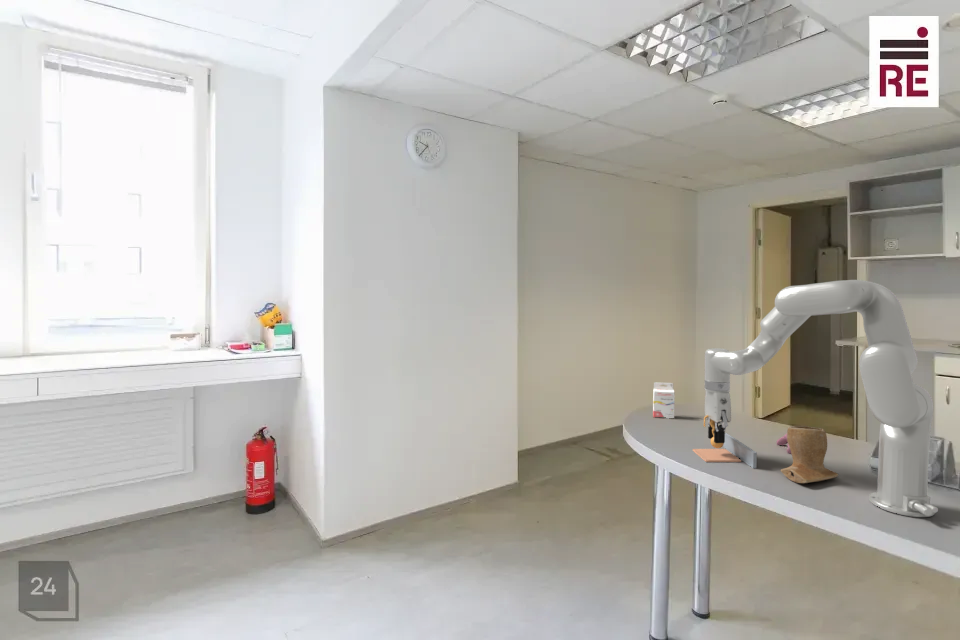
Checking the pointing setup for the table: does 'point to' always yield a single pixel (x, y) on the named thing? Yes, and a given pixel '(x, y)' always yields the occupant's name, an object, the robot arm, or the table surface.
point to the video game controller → (784, 442)
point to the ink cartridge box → (663, 400)
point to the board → (716, 455)
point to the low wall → (740, 450)
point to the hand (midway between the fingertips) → (716, 440)
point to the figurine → (712, 423)
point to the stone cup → (807, 455)
